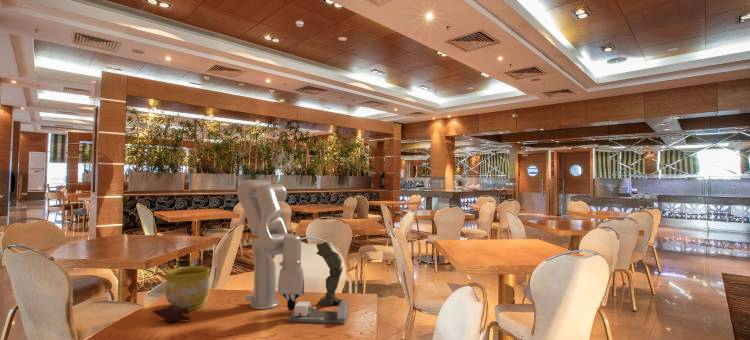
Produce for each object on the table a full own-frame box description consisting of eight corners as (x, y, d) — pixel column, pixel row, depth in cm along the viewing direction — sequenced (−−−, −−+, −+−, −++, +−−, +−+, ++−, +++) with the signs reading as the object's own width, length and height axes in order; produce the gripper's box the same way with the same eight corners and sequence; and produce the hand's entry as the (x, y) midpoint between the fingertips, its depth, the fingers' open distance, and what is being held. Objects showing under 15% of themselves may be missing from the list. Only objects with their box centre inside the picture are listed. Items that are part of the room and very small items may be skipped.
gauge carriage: (293, 317, 156) (293, 307, 156) (298, 310, 164) (299, 301, 164) (312, 318, 155) (312, 308, 156) (317, 311, 163) (317, 302, 163)
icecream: (146, 309, 151) (184, 313, 151) (158, 298, 159) (193, 302, 158) (147, 324, 153) (184, 328, 152) (158, 313, 160) (194, 317, 160)
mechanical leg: (351, 300, 182) (337, 237, 184) (349, 304, 175) (334, 240, 177) (323, 305, 184) (309, 244, 185) (320, 310, 177) (305, 246, 178)
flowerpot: (216, 301, 182) (216, 266, 182) (197, 314, 164) (198, 275, 164) (178, 300, 182) (179, 265, 183) (155, 313, 164) (156, 275, 165)
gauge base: (288, 321, 156) (288, 305, 156) (295, 313, 166) (295, 298, 166) (344, 324, 154) (344, 307, 154) (348, 315, 164) (348, 300, 164)
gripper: (271, 266, 159) (270, 312, 158) (306, 267, 157) (306, 313, 156) (277, 263, 166) (277, 306, 166) (311, 264, 165) (311, 307, 164)
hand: (291, 309), depth 161 cm, fingers closed
